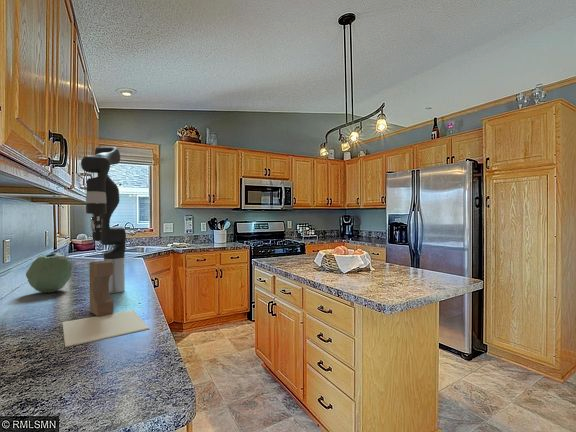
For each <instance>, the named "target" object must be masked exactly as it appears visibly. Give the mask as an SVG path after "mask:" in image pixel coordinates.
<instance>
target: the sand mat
mask: <svg viewBox="0 0 576 432" xmlns="http://www.w3.org/2000/svg"><path fill="white" fill-rule="evenodd" d="M146 330H150V327H149V326H148V325H147V323H146V322H145V321H144V320H143V319H142V318H141V317H140V316H139V315H138V314H137V312H136V311H135V309H130V310H123V311H119V312H113V314H109V315H105V316H100V317H98V316H96V315H95V316H91V317H90V316H89V317H85V318H80V319H74V320H68V321H62V333H63V339H64V340H63V341H64V348H68V347H73V345H74V346H77V345H78V346H79V345H82V344H87V343H91V342H96V341H102V340H105V339H111V338H115V337H119V336H123V335H128V334H132V333H137V332H143V331H146Z"/></svg>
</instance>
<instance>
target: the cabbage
mask: <svg viewBox="0 0 576 432" xmlns="http://www.w3.org/2000/svg"><path fill="white" fill-rule="evenodd" d="M72 267H73V261H72V260H69V257H68V256H66V255H64V254H63V253H62V252H58V251H57V252H56V253H50V254H41V255H40V256H38V257H37V258H36V259H34V260H33V261H32V263H31V264H30V266H29V268H28V269H27V270H26V273H25V276H26V279H27V283H28V284H29V285H30V287H32V288H33V289H34V290H35V291H37V292H39V293H44V294H47V292H48V294H49V293H50V292H51V293H54V292H57V291H59V290H61V289H62V288H64V287H65V285H66V284H68V282H69V281H70V279H71V277H72V275H73V274H72V269H73V268H72Z"/></svg>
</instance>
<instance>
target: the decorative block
mask: <svg viewBox="0 0 576 432" xmlns="http://www.w3.org/2000/svg"><path fill="white" fill-rule="evenodd" d="M112 274H113V263H112V262H108V261H104V260H100V261H98V260H97V261H90V262H89V312H90V313H92V314H93V315H95V316H98V317H100V316H105V315H109V314H113V313H114V301H113V300H112V298H111V293H109V279H110V276H111V275H112Z"/></svg>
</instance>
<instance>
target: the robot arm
mask: <svg viewBox="0 0 576 432" xmlns="http://www.w3.org/2000/svg"><path fill="white" fill-rule="evenodd" d="M120 162H121V153H120V150H119V149H118V148H117V147H116V146H98V147H96V148H95V150H94V155H89V154H88V155H85V156H83V157H82V159H81V161H80V166H81V169H82V170H83V172H86V173H91V174H92V173H93V174H95V173H96V174H97V176H96V177H91V178H87V180H86V183H85V184H86V186H85V187H86V188H85V189H86V195H85V213H86V214H89V215H92V216H91V217H90V227H91V232H92V240H93V241H95V242H100V243H101V245H103V246H114V247H113V248H112V249H110V250H108V251H106V252H104V253H103V261H108V262H112V263H113V274H112V275H111V276H110V279H109V294H115V293H116V294H118V293H122V292H125V290H126V289H125V288H126V287H125V280H126V279H125V278H126V277H125V276H126V273H125V272H126V271H125V269H126V268H125V267H126V266H125V254H126V239H127V236H126V235H127V233H126V230H125V228H124V227H123V226H110V224H111V223H110V221H111V217H112V215H113V214H114V212H115V210H116V209H117V207H118V206H119V204H120V190H119V187H118V185H117V184H116V183H115V181H113V180H112V178H111V177H110V175H109V172H110V168H111V166H112V165H113V166H114V165H118V164H119V163H120Z"/></svg>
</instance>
